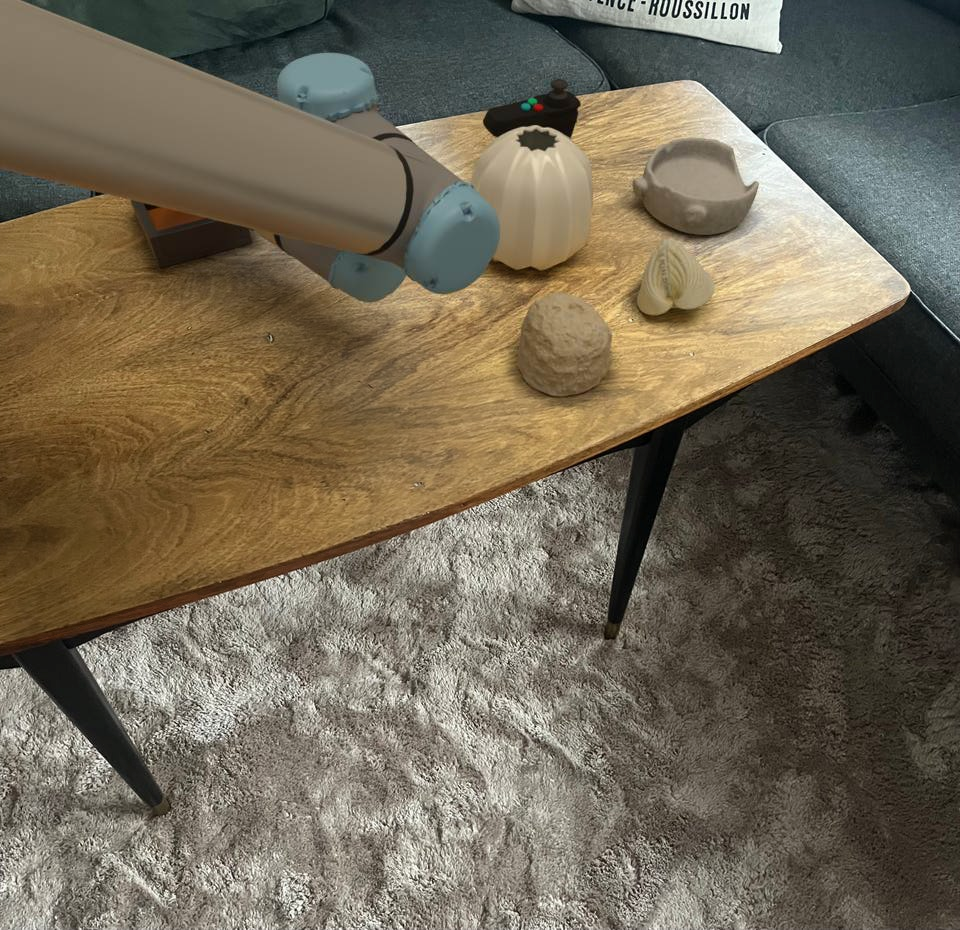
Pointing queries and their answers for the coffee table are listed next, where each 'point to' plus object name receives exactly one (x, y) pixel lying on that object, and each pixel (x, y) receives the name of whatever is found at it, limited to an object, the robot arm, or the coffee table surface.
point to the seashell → (673, 280)
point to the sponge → (563, 345)
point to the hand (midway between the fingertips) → (136, 109)
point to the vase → (536, 195)
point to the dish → (695, 186)
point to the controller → (537, 112)
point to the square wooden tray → (185, 234)
